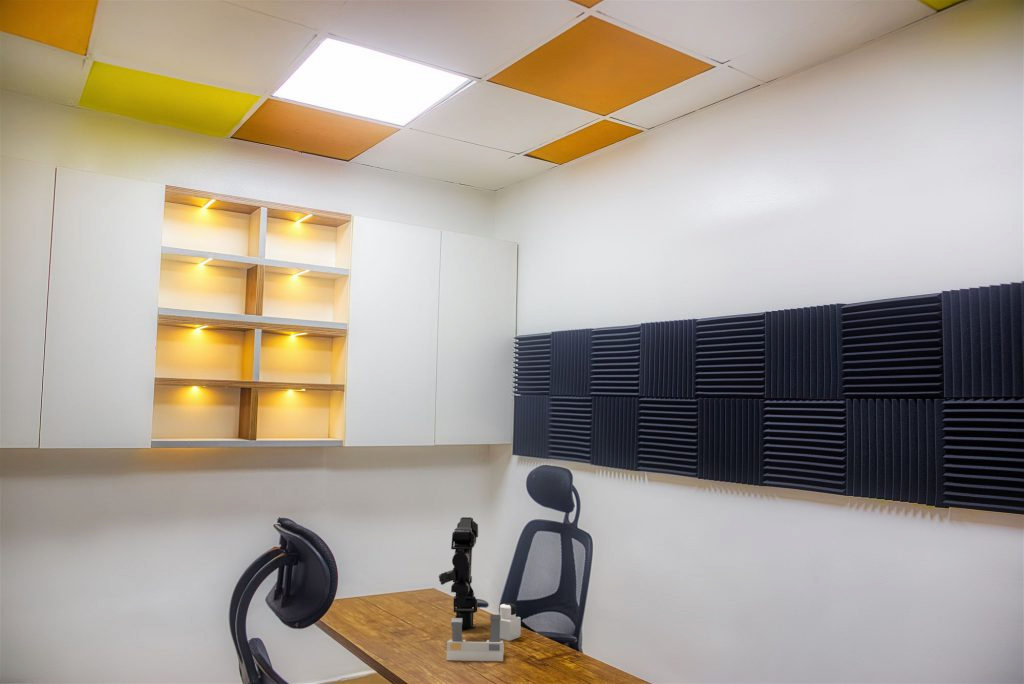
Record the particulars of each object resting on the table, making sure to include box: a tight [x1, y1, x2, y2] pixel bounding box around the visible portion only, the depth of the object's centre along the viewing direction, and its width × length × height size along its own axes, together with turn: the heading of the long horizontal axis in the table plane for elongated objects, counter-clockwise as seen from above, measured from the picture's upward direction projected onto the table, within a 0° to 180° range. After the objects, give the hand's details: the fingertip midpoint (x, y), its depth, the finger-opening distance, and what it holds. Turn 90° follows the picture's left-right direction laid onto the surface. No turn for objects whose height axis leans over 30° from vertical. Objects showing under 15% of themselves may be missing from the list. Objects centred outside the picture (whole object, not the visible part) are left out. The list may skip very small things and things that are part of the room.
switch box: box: [446, 639, 505, 662], centre depth 257 cm, size 9×19×6 cm, turn 89°
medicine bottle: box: [499, 602, 522, 642], centre depth 280 cm, size 7×7×12 cm
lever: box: [489, 614, 501, 642], centre depth 260 cm, size 2×4×10 cm, turn 89°
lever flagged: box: [450, 617, 463, 642], centre depth 257 cm, size 2×4×10 cm, turn 89°
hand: (461, 607), depth 275 cm, fingers closed
